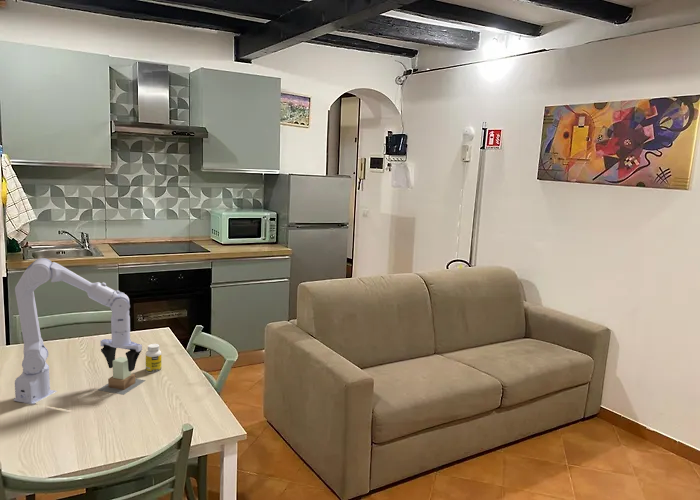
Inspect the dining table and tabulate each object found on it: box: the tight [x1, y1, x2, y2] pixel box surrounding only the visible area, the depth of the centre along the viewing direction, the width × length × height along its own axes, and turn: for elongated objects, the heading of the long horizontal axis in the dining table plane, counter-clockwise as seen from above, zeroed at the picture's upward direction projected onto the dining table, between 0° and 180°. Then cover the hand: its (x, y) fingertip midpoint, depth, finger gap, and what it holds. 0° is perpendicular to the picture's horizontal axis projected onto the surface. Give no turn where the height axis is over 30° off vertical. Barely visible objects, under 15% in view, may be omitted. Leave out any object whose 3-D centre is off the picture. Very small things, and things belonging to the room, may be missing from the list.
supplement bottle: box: [145, 343, 162, 374], centre depth 198 cm, size 5×5×10 cm
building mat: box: [97, 378, 146, 396], centre depth 185 cm, size 12×10×1 cm
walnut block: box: [107, 373, 136, 390], centre depth 184 cm, size 6×6×3 cm
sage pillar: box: [112, 356, 132, 380], centre depth 184 cm, size 4×4×6 cm
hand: (121, 368), depth 184 cm, fingers open, 7 cm apart
